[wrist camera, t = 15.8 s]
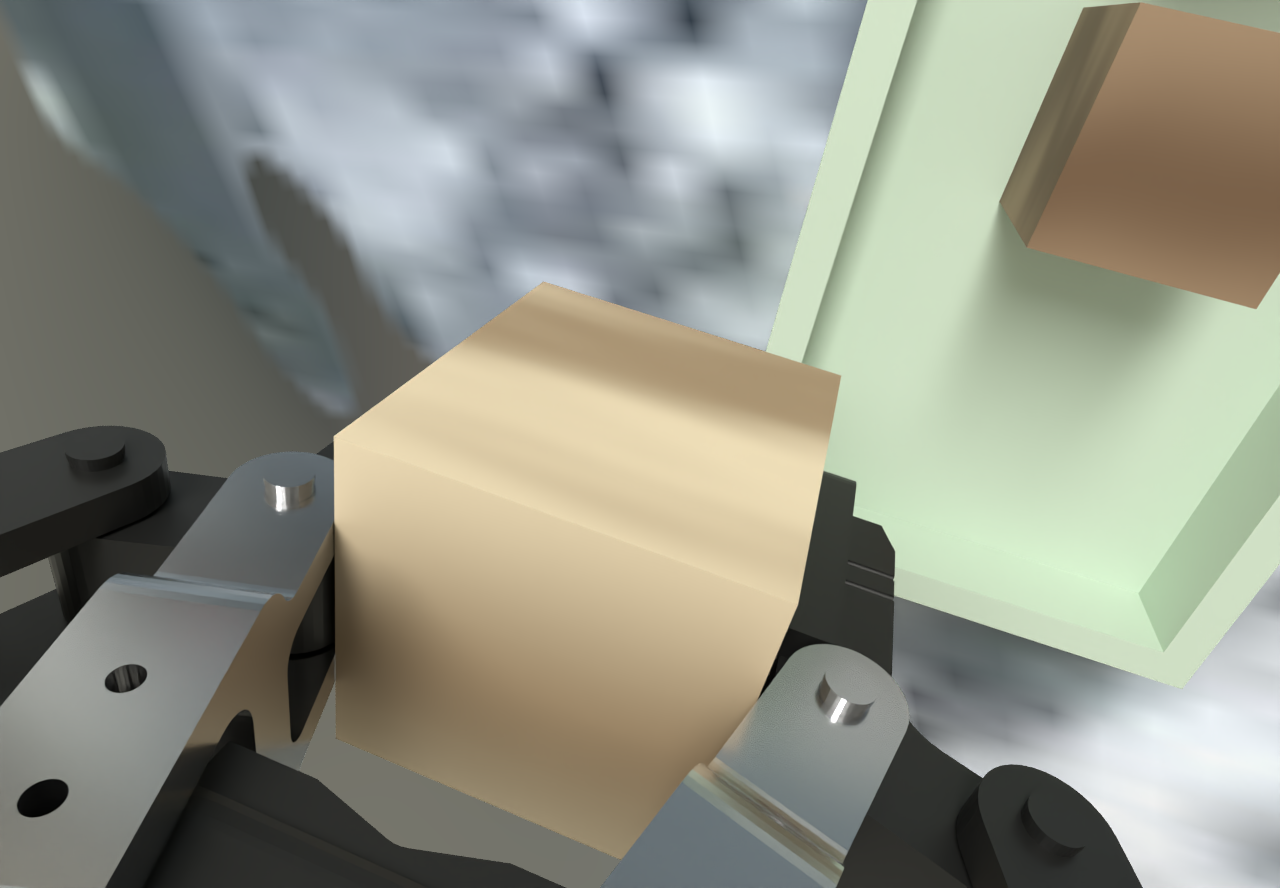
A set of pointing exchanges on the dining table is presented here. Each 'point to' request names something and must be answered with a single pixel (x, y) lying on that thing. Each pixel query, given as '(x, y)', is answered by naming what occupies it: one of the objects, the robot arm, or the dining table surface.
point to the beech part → (573, 558)
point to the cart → (1026, 361)
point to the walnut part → (1158, 153)
